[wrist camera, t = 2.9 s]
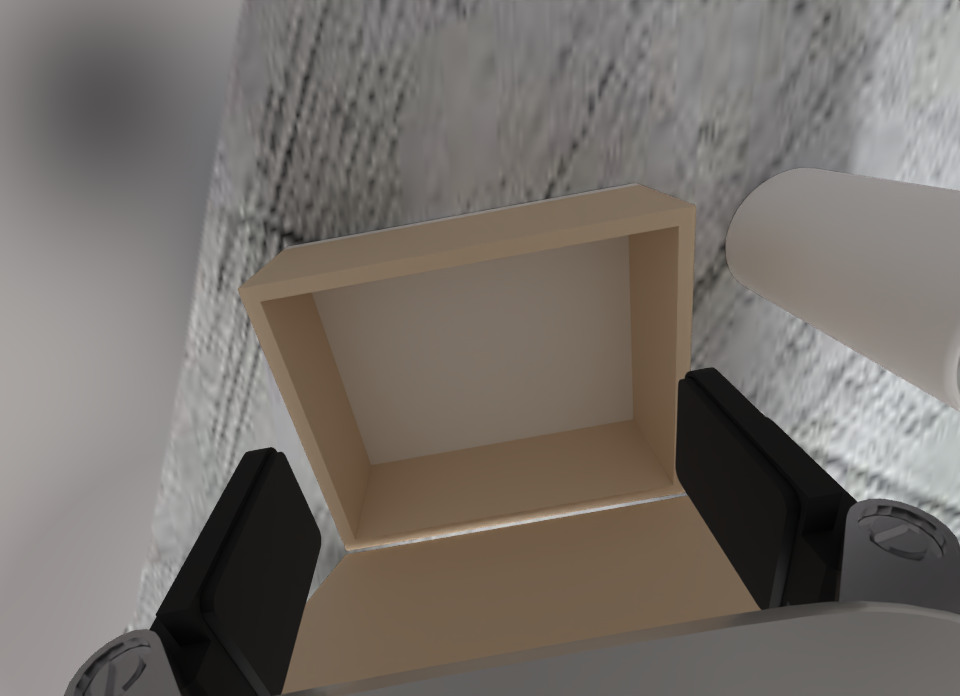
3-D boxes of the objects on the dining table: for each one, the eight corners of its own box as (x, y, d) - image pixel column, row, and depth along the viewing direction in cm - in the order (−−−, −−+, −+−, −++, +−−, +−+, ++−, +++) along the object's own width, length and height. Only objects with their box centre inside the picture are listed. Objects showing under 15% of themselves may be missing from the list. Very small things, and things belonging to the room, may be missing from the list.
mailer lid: (1011, 695, 11) (1019, 725, 11) (687, 495, 30) (690, 506, 30) (109, 843, 12) (112, 873, 12) (345, 554, 31) (347, 565, 31)
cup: (757, 156, 29) (1053, 198, 15) (873, 180, 31) (1252, 241, 16) (706, 282, 33) (907, 415, 19) (812, 300, 34) (1079, 437, 20)
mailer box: (635, 182, 30) (696, 205, 22) (640, 419, 38) (685, 492, 30) (287, 246, 30) (237, 289, 23) (365, 468, 38) (346, 550, 31)
